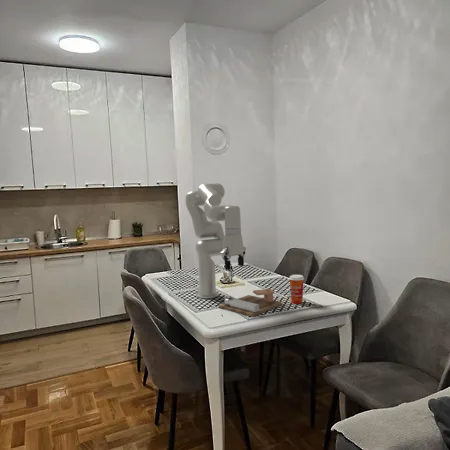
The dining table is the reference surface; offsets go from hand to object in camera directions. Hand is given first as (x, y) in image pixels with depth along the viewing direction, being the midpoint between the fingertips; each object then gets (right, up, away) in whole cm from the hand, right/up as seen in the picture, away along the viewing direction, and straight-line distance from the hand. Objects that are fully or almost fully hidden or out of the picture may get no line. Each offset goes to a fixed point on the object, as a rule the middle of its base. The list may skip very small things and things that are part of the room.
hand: (234, 267), depth 192 cm
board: (+8, -21, +12) cm, 26 cm away
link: (+3, -21, +6) cm, 22 cm away
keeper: (+16, -21, +17) cm, 31 cm away
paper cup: (+33, -20, +17) cm, 42 cm away
